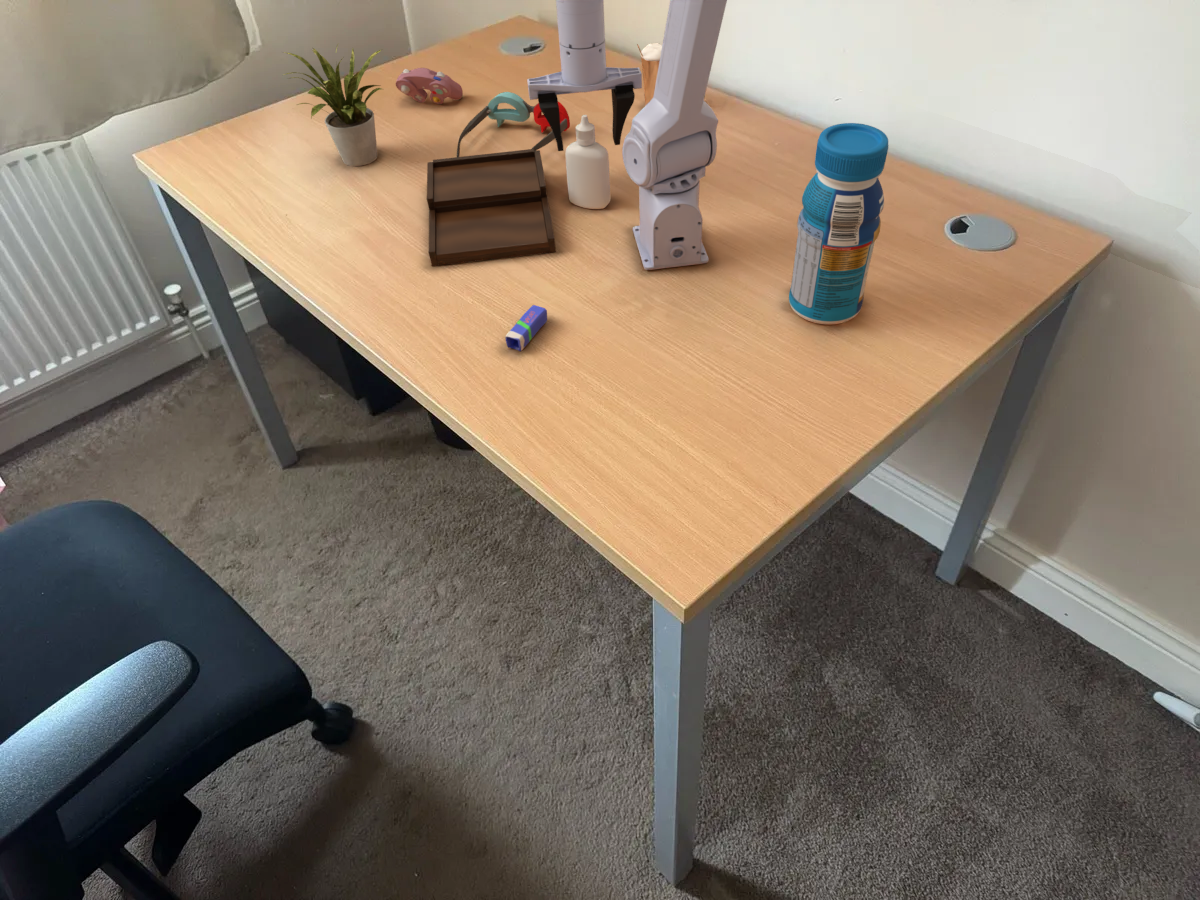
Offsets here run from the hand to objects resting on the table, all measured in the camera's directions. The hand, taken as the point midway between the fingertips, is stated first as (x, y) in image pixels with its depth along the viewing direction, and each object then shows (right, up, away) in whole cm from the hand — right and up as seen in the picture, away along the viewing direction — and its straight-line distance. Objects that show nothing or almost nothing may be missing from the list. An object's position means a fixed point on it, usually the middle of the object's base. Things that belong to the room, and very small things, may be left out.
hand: (588, 144), depth 115 cm
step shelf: (-13, -10, -1) cm, 17 cm away
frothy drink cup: (+10, +13, +19) cm, 25 cm away
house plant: (-36, +2, +12) cm, 38 cm away
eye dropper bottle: (0, -8, 0) cm, 8 cm away
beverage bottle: (+27, -25, -18) cm, 41 cm away
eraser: (-7, -28, -19) cm, 35 cm away
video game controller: (-26, +16, +24) cm, 39 cm away
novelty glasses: (-12, +4, +12) cm, 17 cm away
